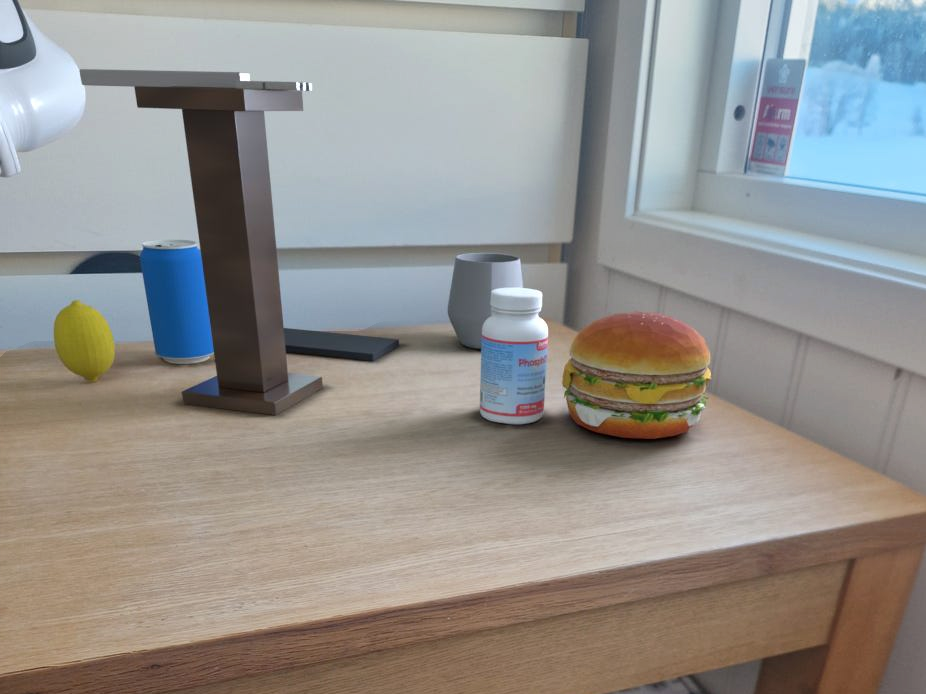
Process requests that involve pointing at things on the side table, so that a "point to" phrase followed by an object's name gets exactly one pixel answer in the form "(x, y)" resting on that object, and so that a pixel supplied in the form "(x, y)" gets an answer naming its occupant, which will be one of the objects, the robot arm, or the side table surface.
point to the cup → (478, 291)
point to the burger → (637, 376)
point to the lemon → (84, 340)
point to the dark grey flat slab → (337, 344)
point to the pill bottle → (513, 357)
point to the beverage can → (177, 300)
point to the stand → (237, 244)
